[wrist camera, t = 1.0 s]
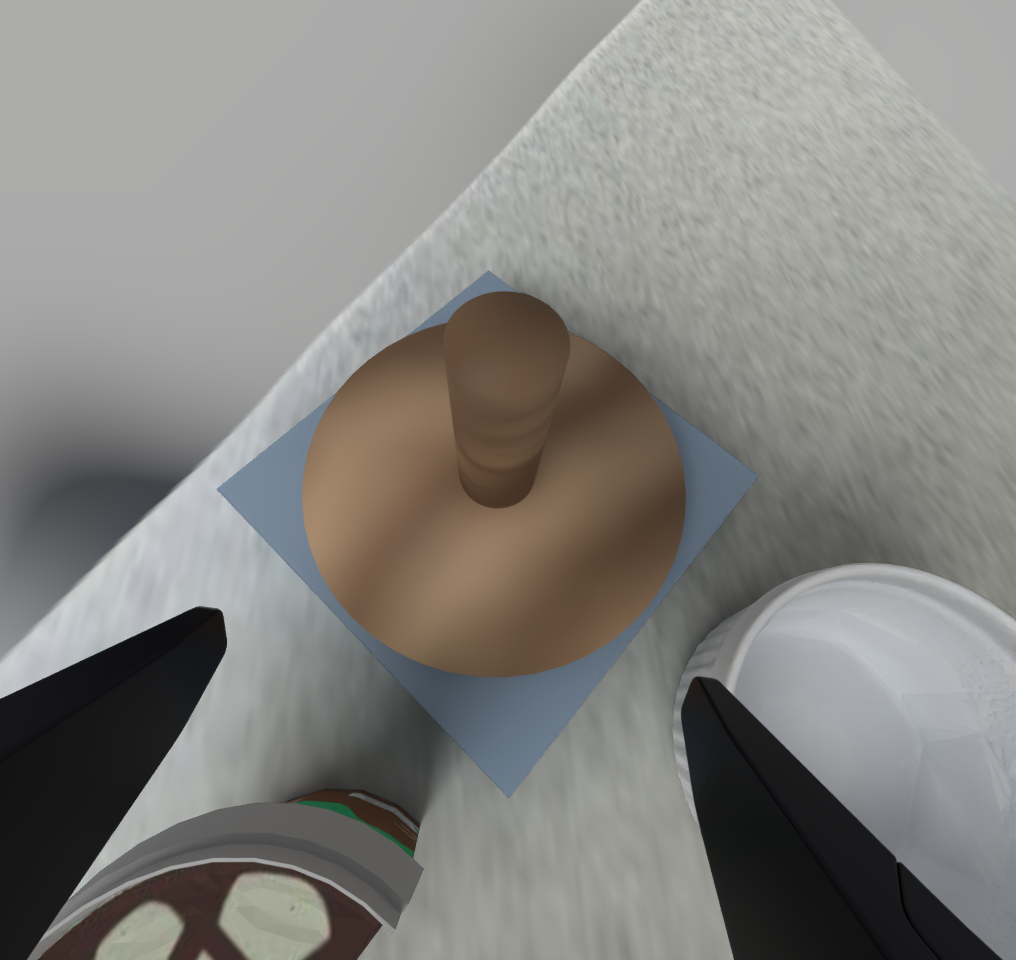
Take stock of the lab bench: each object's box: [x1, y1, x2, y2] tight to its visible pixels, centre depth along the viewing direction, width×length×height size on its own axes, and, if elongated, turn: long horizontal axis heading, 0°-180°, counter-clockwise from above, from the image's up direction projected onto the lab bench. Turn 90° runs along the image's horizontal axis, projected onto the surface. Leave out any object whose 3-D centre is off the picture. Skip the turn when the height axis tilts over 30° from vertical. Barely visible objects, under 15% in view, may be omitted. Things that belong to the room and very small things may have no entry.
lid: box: [302, 291, 686, 677], centre depth 17 cm, size 16×16×10 cm
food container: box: [27, 789, 424, 960], centre depth 14 cm, size 12×6×10 cm, turn 139°
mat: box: [217, 271, 759, 798], centre depth 23 cm, size 17×17×3 cm
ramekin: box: [672, 563, 1016, 960], centre depth 18 cm, size 13×13×7 cm
